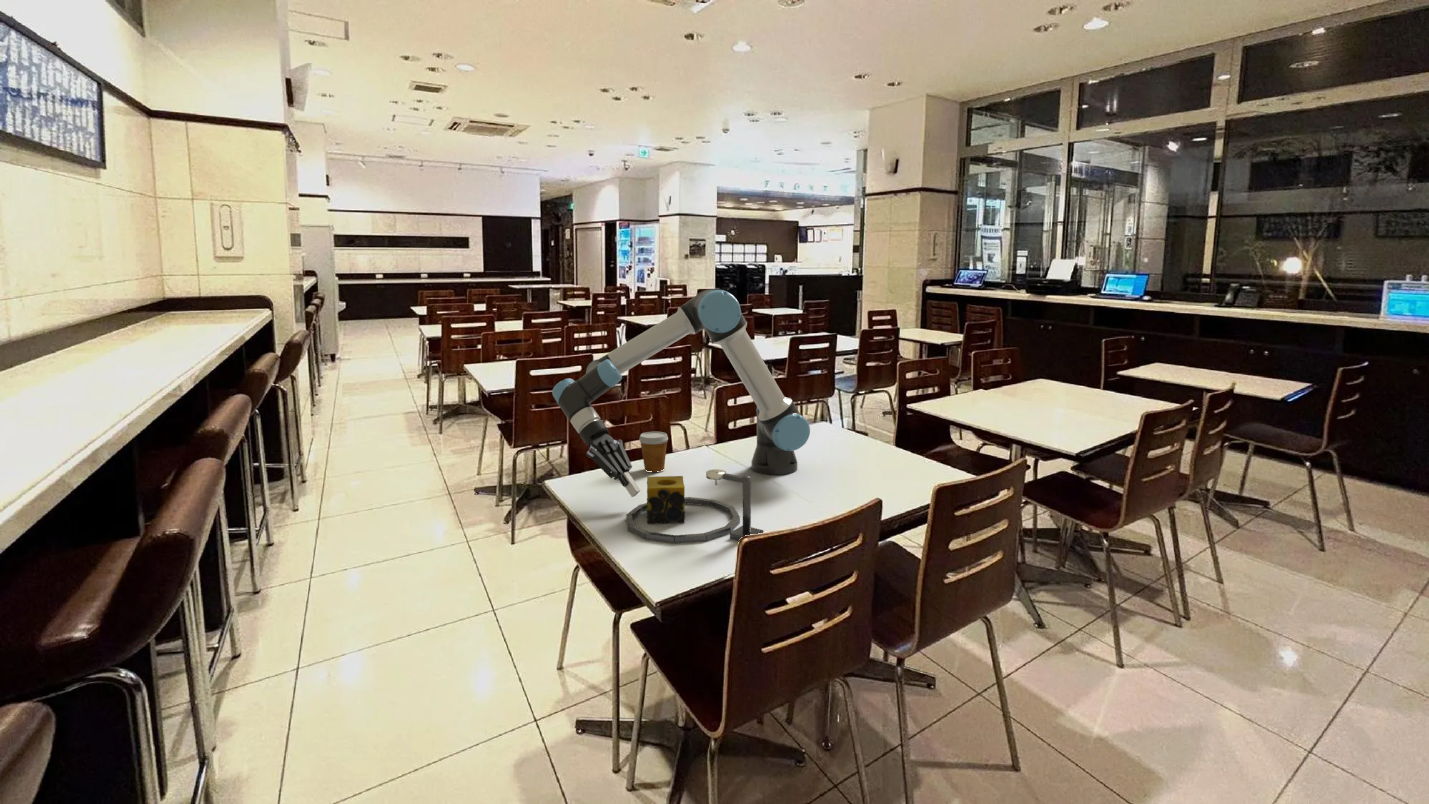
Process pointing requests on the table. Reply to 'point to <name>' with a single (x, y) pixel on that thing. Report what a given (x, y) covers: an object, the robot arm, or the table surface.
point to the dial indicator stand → (746, 481)
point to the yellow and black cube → (665, 500)
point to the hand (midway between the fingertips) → (636, 493)
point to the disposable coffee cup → (654, 450)
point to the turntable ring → (687, 537)
